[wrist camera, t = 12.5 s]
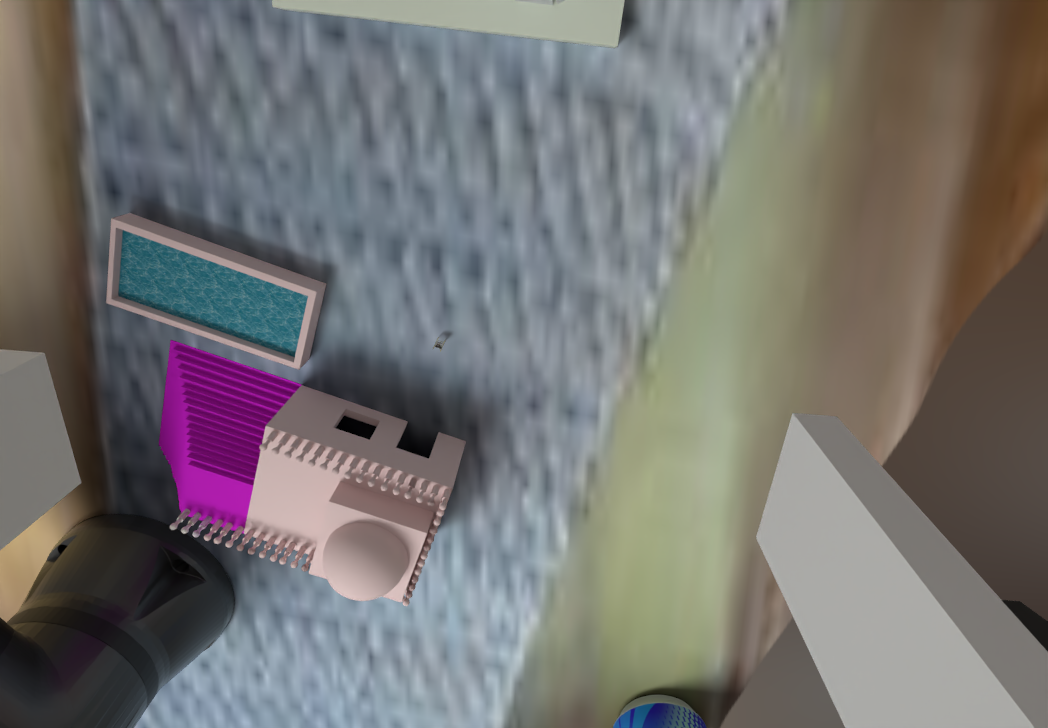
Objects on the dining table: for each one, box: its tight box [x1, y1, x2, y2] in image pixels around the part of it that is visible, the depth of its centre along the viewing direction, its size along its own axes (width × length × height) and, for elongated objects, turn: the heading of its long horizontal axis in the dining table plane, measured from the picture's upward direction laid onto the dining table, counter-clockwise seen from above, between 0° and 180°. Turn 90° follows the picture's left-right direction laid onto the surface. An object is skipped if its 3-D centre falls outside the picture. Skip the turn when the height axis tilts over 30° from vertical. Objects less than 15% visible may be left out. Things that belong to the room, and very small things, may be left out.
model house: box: [106, 213, 466, 606], centre depth 38 cm, size 25×17×11 cm
